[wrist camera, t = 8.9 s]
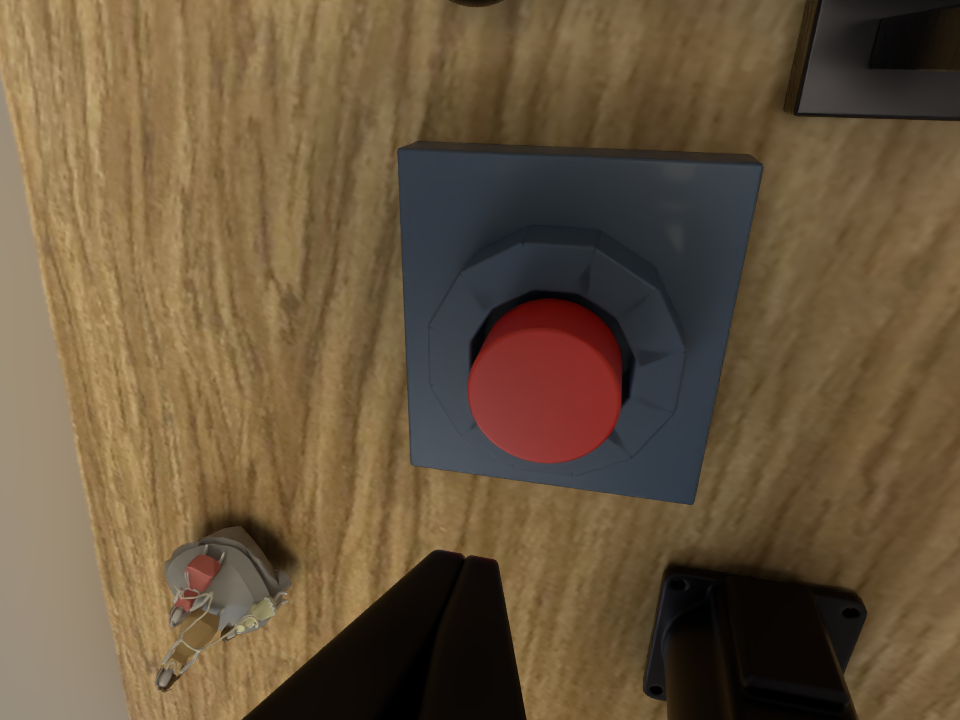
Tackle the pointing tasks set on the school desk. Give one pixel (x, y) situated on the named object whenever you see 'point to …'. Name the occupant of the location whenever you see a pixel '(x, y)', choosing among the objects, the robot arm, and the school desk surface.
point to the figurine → (218, 594)
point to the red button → (547, 382)
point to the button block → (575, 293)
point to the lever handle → (476, 2)
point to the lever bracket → (877, 60)
